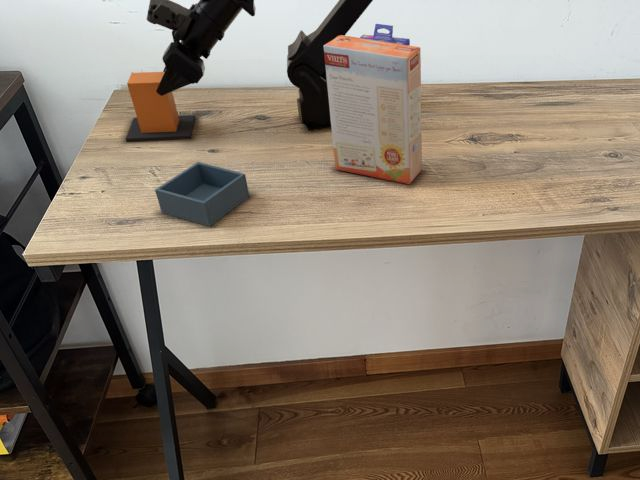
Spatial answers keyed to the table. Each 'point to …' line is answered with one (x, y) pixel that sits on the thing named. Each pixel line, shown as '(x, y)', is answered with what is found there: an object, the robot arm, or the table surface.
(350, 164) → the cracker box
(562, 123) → the table surface
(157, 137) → the mat
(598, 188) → the table surface
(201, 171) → the tote
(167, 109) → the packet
